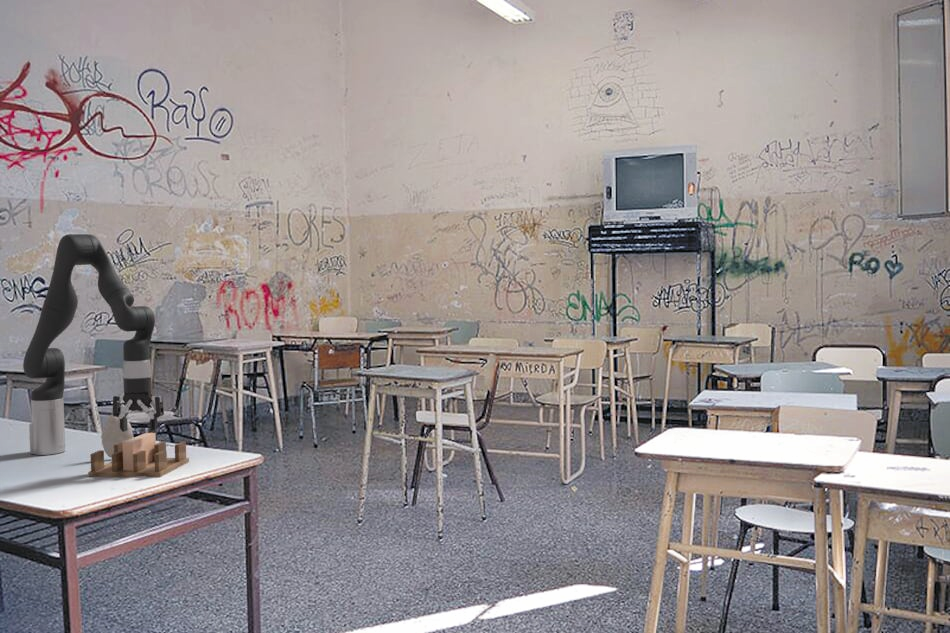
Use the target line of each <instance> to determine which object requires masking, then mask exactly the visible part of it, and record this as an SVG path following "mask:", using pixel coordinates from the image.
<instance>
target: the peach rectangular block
mask: <svg viewBox="0 0 950 633" xmlns="http://www.w3.org/2000/svg"><path fill="white" fill-rule="evenodd" d="M133 437H134V436H133ZM156 437H157V436H156V432H144V433H142V434H139V435H138V436H135V437H134V438H132V439H129V440H127V441H124V442H122V447H123V470H134V469H133V454H135V453H137V452H139V451H146V464H148V463H150V462H152V461H155V457H154V454H155V451H154V445H155V444H157V442H156V441H157V440H156V439H157V438H156Z"/></svg>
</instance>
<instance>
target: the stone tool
mask: <svg viewBox="0 0 950 633" xmlns="http://www.w3.org/2000/svg"><path fill="white" fill-rule="evenodd" d="M127 426H128V430H127V431H125V432H122V430H121V429H120V419H119V418H118V417H116V416H115V417H114V416H113V412H112V413H111V414H110V416H109V417H108V418H107V419H106V421H105V422H104V426H103V430H102V432H101V436H100V438H101V445H102V448H103V450H104V453H105V454H106V455H107V457H109V458H111V459H112V454H113V453H114V445H115V444H117V443H120V442H122V441H127V440H129V439H132V438H134V433H133V428H132V425H131V423H130V421H129V420H128V419H127Z"/></svg>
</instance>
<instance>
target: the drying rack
mask: <svg viewBox="0 0 950 633" xmlns="http://www.w3.org/2000/svg"><path fill="white" fill-rule="evenodd" d="M122 442H124V441H122ZM122 442H120V443H117V444H115V445H114V453H113V454H112V458H111V461H110V462H108V463H105V454H104V453H105V451H104V449H103V450H101V449H100V450H98V451H95V452H92V453H90V470H89V471H88V472H87V477H99V478H100V477H103V478H104V477H105V478H106V477H109V478H110V477H116V478H118V477H121V478H125V477H126V478H127V477H128V478H129V477H130V478H131V477H132V478H133V477H135V478H138V477H137V476H146V477H145V478H161V477H163V476H165V475H167V474H168V473H171V472H172V471H174V470H177V469H178V468H180V467H182V466H184V465H186V464H188V463H189V462H190V457H187V442H186V441H180V442H179V443H176V444H175V445H174V457H167V455H168V454H167V453H168V452H167V442H166V441H160V442H158V443H156V444H155V445H154V451H155V454H154V457H155V461H152V462H150V463H148V464H146V451H139V452H137V453H135V454H133V469H134V470H123V447H122Z"/></svg>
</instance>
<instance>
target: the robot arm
mask: <svg viewBox="0 0 950 633" xmlns="http://www.w3.org/2000/svg"><path fill="white" fill-rule="evenodd" d="M89 265H90V266H92V267H93V268H94V269H95V270H96V271H97V273H98V276H97V288H98V292H99V294H100V295H101V297H102V298H103V300H104V301H105V302H106V303H107V305H108V306H109V307H110V310H111V314H112V315H113V318H114V322H115V324H116V326H117V328H119V329H120V330H122V331H124V332H128V333H129V332H135V333H134V336H133V337H132V338H130V339H127V340H125V341H124V343H123V347H122V349H123V365H122V366H123V367H122V375H123V376H122V378H123V379H122V380H123V393H124V395H121V394H117V395H114V396H113V398H112V413H113V416H114V417H115V416H116V417H118V418H119V419H120V429H121V430H122V432H125V431H127V430H128V426H127V420H128V417H127V416H128V415H129V413H130V412H136V411H138V412H145V414H147V415H148V417H149V418H150V419H149V431H150V432H149V433H155V432H156V431H157V430H158V418H160V417H162V416H164V415H165V410H164V409H165V408H164V399H163V395H155V396H154V395H153V394H152V366H151V360H150V359H151V358H150V354H151V353H150V351H151V350H150V345H151V341H152V337H153V333H154V328H155V324H156V316H155V313H154V311H153V310H152V309H151V307H149V306H147V305H146V306H145V305H142V306H139V305H138V306H133V305H134V302H135V297H134V294H133V293H132V292H131V290H130V289H129V288H128V287H127V286H126V284H125V283H124V281H123V280H122V279H121V278H120V277H119V274H118V273H117V271H116V269H115V267H114V265H113V264H112V260H111V259H110V258H109V255H108V254H107V252H106V250H105V248H104V246H103V244H102V243H101V241H100V239H99V238H97V237H96V235H93V234H88V233H86V234H85V233H83V234H81V233H78V234H77V233H68V234H65V235H63V236H62V237H61V239H60V240H59V243H58V246H57V249H56V254H55V259H54V265H53V270H52V274H51V279H50V282H49V286H48V289H47V293H46V295H45V298H44V301H43V304H42V307H41V312H40V316H39V318H38V322H37V325H36V328H35V331H34V333H33V336H32V338H31V340H30V343H29V345H28V347H27V350H26V352H25V354H24V358H23V364H22V365H23V366H22V367H23V368H22V369H23V373H24V375H25V376H26V378H27V377H28V378H30V379H34V380H35V379H45V381H44V383H42V384H41V385H40V386H38V387H37V388H35V389H33V390H32V391H31V393H30V399H31V400H30V406H31V423H29V424H28V428H29V432H28V433H29V451H30V452H29V454H31V455H32V454H33V455H36V456H37V455H38V456H42V455H43V456H45V455H49V456H50V455H56V454H60V453H61V454H62V453H64V452H66V437H65V436H66V431H65V428H66V426H65V407H64V406H65V404H64V391H65V385H66V384H65V378H66V376H65V372H66V369H65V368H66V367H65V366H66V363H65V362H66V361H65V356H64V353H63V351H62V350H61V349H60V348H58V347H57V348H56V347H50V346H51V344H52V343H53V342H54V341H55V340H56V338H57V337H59V336H60V335H61V334H62V333H63V332H65V331H66V330H67V328H69V326H70V325H71V323H72V322H73V320H74V318H75V314H76V311H77V308H78V303H79V299H78V295H77V293H76V290H75V288H74V286H73V283H72V280H71V279H72V274H73V270H74V267H76V266H89ZM123 402H124V404H125V405H124V406H123V408H122V403H123ZM152 402H153V403H154V406H155V407H154V406H153V405H152V404H151V403H152Z"/></svg>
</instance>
